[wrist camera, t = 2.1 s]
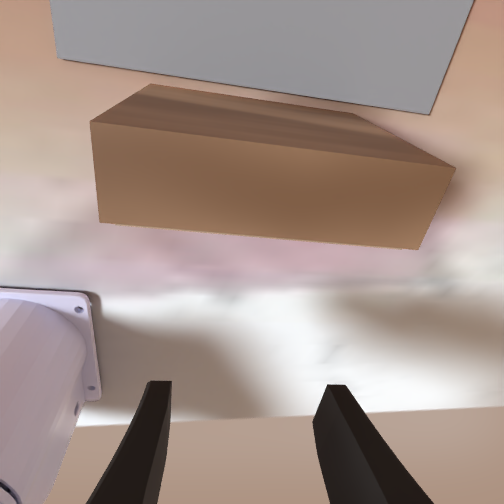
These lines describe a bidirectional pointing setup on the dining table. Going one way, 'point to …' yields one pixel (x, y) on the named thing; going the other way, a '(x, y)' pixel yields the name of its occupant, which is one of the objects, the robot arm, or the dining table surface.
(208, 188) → the walnut slab
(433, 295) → the dining table surface
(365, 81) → the mat
